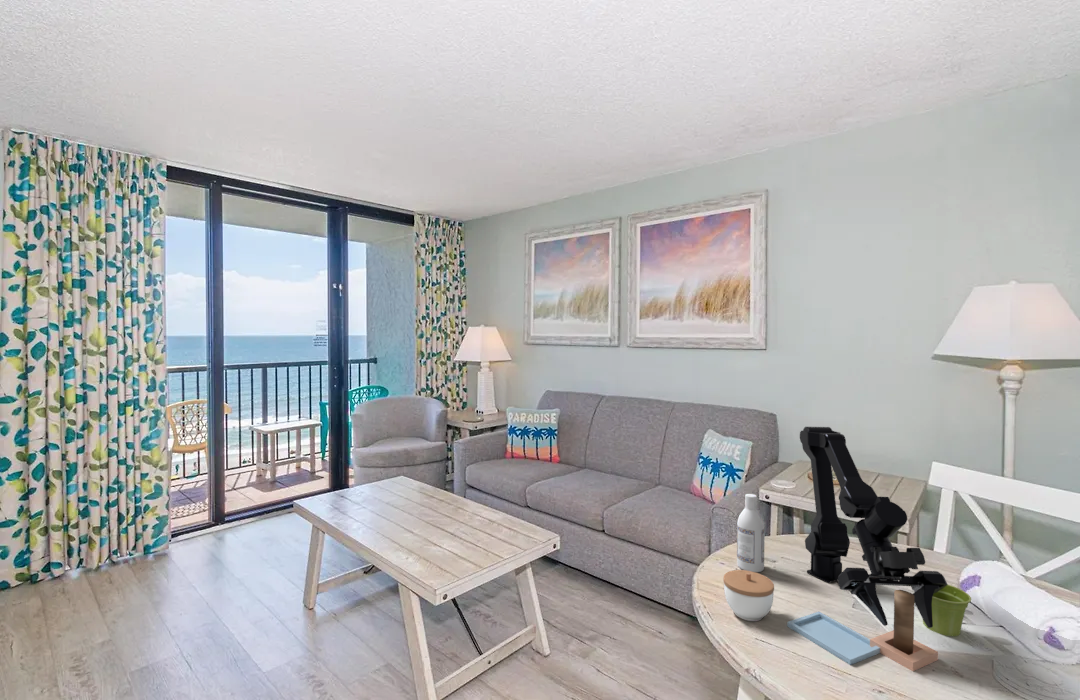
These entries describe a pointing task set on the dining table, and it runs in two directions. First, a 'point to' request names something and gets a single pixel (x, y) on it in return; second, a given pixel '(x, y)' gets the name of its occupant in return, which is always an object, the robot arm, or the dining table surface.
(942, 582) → the robot arm
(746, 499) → the bath foam
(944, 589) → the plant pot
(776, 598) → the dining table surface
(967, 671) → the dining table surface
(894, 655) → the holder
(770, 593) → the lidded jar
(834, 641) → the tray
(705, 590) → the dining table surface
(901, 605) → the peg
